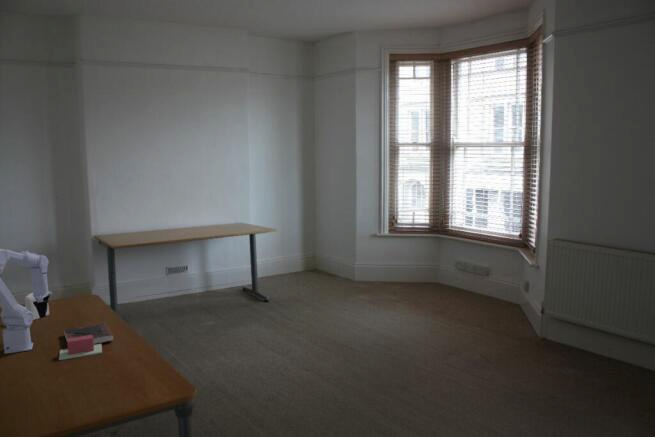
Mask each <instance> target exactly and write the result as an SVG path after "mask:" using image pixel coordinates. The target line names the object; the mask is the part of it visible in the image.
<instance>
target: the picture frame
mask: <svg viewBox="0 0 655 437" xmlns="http://www.w3.org/2000/svg"><path fill="white" fill-rule="evenodd" d="M63 332H64V336H65V339H66V341H67V339H68V338H75V337H81V336H88V335H93V344H94V345H95V344H102V343H107V342H111V341H114V334H113V333H112V332H111V330H110V328H109V326H108V325H107V324H106V322H102V323H97V324H90V325H85V326H80V327H72V328H65V329H63Z"/></svg>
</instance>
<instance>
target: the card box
mask: <svg viewBox="0 0 655 437" xmlns="http://www.w3.org/2000/svg"><path fill="white" fill-rule="evenodd" d="M66 344H67V349H68V355H70V354H76V353H82V352H88V351H94V345H95V344H93V335H88V336H81V337H75V338H68V339H67V340H66Z"/></svg>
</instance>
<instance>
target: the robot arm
mask: <svg viewBox="0 0 655 437" xmlns="http://www.w3.org/2000/svg"><path fill="white" fill-rule="evenodd" d="M8 261H13V262H16V264H17V265H19V266H20V267H21V266H22V267H26V268H28V269H30V276H31V286H32V293H33V297H35V299H36V300H37V301H33V304H34V306H35V307H36V309H37V311H38V314H39V317H40V318H39V319H41V318H46V312H47V304H48V305H49V300H50V299H49V298H50V295H53V292H52V291H49V286H48V284H49V283H48V275H47V272H48V267H49V262H50V261H49V259H48V257H47V256H46V255H44V254H37V253H36V252H29V250H27V249H26V250H24V249H23V251H19V252H17V251H13V250H10V249H7V248H0V275H1V274H2V273H3V272H4V269H5V266H6V264H7V262H8ZM12 294H13V293H11V291H10V290H9V288H8V287H7V285H6V284H5V282H4V281H3V279H2V278H1V277H0V308H1V309H2V310H1V313H0V317H1V319H2V323H3V325H4V326H5V327H6V328H4V329H2V341H3V350H4V354H5V355H7V354H12V353H13V354H14V353H20V352H25V351H32V350H33V346H34V342H32V340H31V339H32V338H31V332H30V331H31V330H30V327H31V326H32V323H33V321H34V320H33V314H32V312H31V311H29V310H27V308H26V307H25V305H24V306H23V305H21V304H19V303H18V301H17V300H16V299H15V296H14V295H12Z"/></svg>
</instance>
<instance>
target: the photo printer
mask: <svg viewBox="0 0 655 437" xmlns="http://www.w3.org/2000/svg"><path fill="white" fill-rule="evenodd" d="M23 301H24V307H26V308H27V310H29V311H31V312H32V314H33V321H35V320H38V319H41V318H40V317H39V314H38V311H37V309H36V307H35V306H34V304H33V301H37V300H36V299H35V297H33V292H30V293H28V294H27V295H26V296H25V297H24V300H23ZM49 315H50V307H49V303H48V304H47V312H46V316H49ZM46 316H45V317H46Z"/></svg>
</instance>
